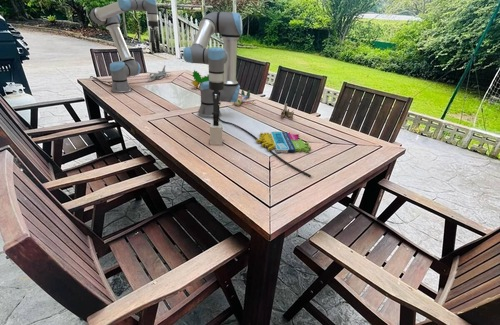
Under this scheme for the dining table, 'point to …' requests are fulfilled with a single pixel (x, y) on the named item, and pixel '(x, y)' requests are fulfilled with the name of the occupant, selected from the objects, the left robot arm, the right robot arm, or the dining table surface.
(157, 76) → the airplane
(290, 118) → the jawbone
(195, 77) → the ornament
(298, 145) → the sign
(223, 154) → the dining table surface
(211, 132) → the block
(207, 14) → the right robot arm
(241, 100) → the toy
